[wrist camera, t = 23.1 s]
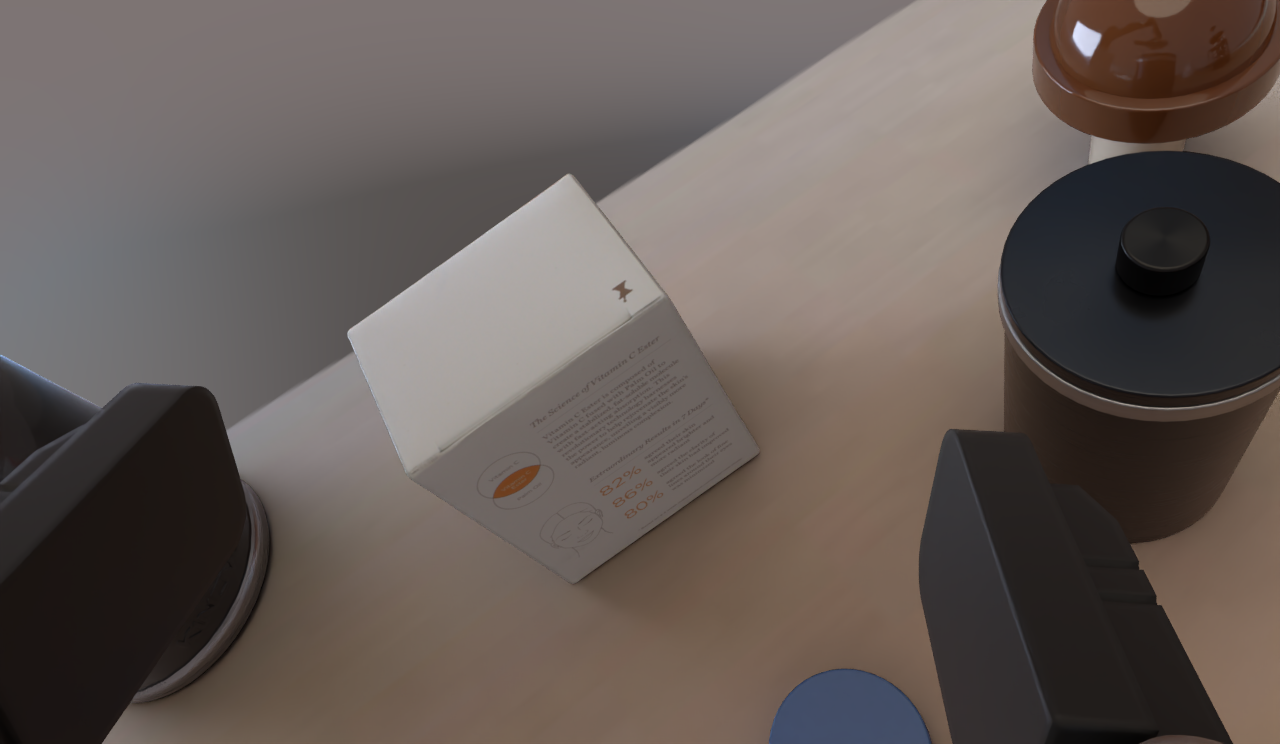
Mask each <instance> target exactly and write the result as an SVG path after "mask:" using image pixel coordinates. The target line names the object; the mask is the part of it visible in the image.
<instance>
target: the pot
mask: <svg viewBox="0 0 1280 744" xmlns="http://www.w3.org/2000/svg"><path fill="white" fill-rule="evenodd" d="M998 304H999V313H1000V317H1001V321H1002V325H1003V328H1004V330H1005V356H1004V432H1014V433H1024V434H1026V435H1027V436H1028V437H1029V439H1030V441H1031V442H1032V445H1033V447H1034V449H1035V451H1036V454H1037V456H1038V458H1039V460H1040V463H1041V465H1042V467H1043V469H1044V472H1045V474H1046V476H1047V478H1048V481H1049V483H1050V484H1067V485H1079V486H1080V487H1081V488H1082V489H1083V490H1084V491H1086V492H1087V493H1088V494H1089V495H1090V496H1091V497H1092V498H1093V499H1094V500H1095V501H1097V502H1098V503H1099V504H1100V505H1101V506H1102V507H1103V508H1104V509H1105V510H1106V511H1108V512H1109V513H1110V514H1111V515H1112V516H1113V517H1114V518H1115V519H1116V520H1117V521H1118V522H1119V524H1120V526H1121V528H1122V530H1123V532H1124V534H1125V536H1126V538H1127V539H1128V541H1129V543H1138V542H1146V541H1152V540H1156V539H1160V538H1165V537H1167V536H1170V535H1173V534H1175V533H1178V532H1180V531H1182V530H1184V529H1185V528H1187V527H1189V526H1191V525H1192V524H1194V523H1195V522H1196V521H1198V520H1199V519H1200V518H1202V517H1203V516H1204V515H1205V514H1206V513H1207V512H1208V511H1209V510H1210V509H1211V508H1212V507H1213V505H1214V504H1215V503H1216V501H1217V500H1218V498H1219V497H1220V495H1221V494H1222V492H1223V490H1224V488H1225V486H1226V485H1227V483H1228V481H1229V479H1230V478H1231V476H1232V474H1233V472H1234V470H1235V469H1236V467H1237V465H1238V463H1239V462H1240V460H1241V458H1242V456H1243V454H1244V453H1245V451H1246V449H1247V447H1248V446H1249V444H1250V442H1251V440H1252V438H1253V437H1254V435H1255V433H1256V431H1257V430H1258V428H1259V426H1260V424H1261V423H1262V421H1263V419H1264V417H1265V415H1266V414H1267V412H1268V410H1269V408H1270V407H1271V405H1272V403H1273V401H1274V399H1275V398H1276V396H1277V394H1278V392H1279V391H1280V183H1279V182H1277V181H1276V180H1274V179H1272V178H1271V177H1269V176H1267V175H1266V174H1264V173H1261V172H1259V171H1257V170H1255V169H1253V168H1251V167H1249V166H1246V165H1243V164H1240V163H1237V162H1234V161H1232V160H1229V159H1225V158H1221V157H1216V156H1212V155H1208V154H1201V153H1194V152H1186V151H1145V152H1138V153H1130V154H1124V155H1120V156H1115V157H1111V158H1107V159H1104V160H1101V161H1098V162H1095V163H1092V164H1089V165H1086V166H1084V167H1082V168H1080V169H1077V170H1075V171H1073V172H1071V173H1069V174H1067V175H1066V176H1064V177H1062V178H1060V179H1059V180H1057V181H1055V182H1054V183H1053V184H1051V185H1050V186H1049V187H1047V188H1046V189H1045V190H1043V191H1042V192H1041V193H1040V194H1039V195H1038V196H1037V197H1035V198H1034V199H1033V200H1032V201H1031V202H1030V203H1029V204H1028V206H1027V207H1026V208H1025V209H1024V210H1023V212H1022V213H1021V214H1020V215H1019V217H1018V218H1017V220H1016V222H1015V223H1014V225H1013V227H1012V228H1011V230H1010V232H1009V235H1008V237H1007V240H1006V242H1005V245H1004V249H1003V253H1002V257H1001V264H1000V268H999V275H998Z"/></svg>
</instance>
